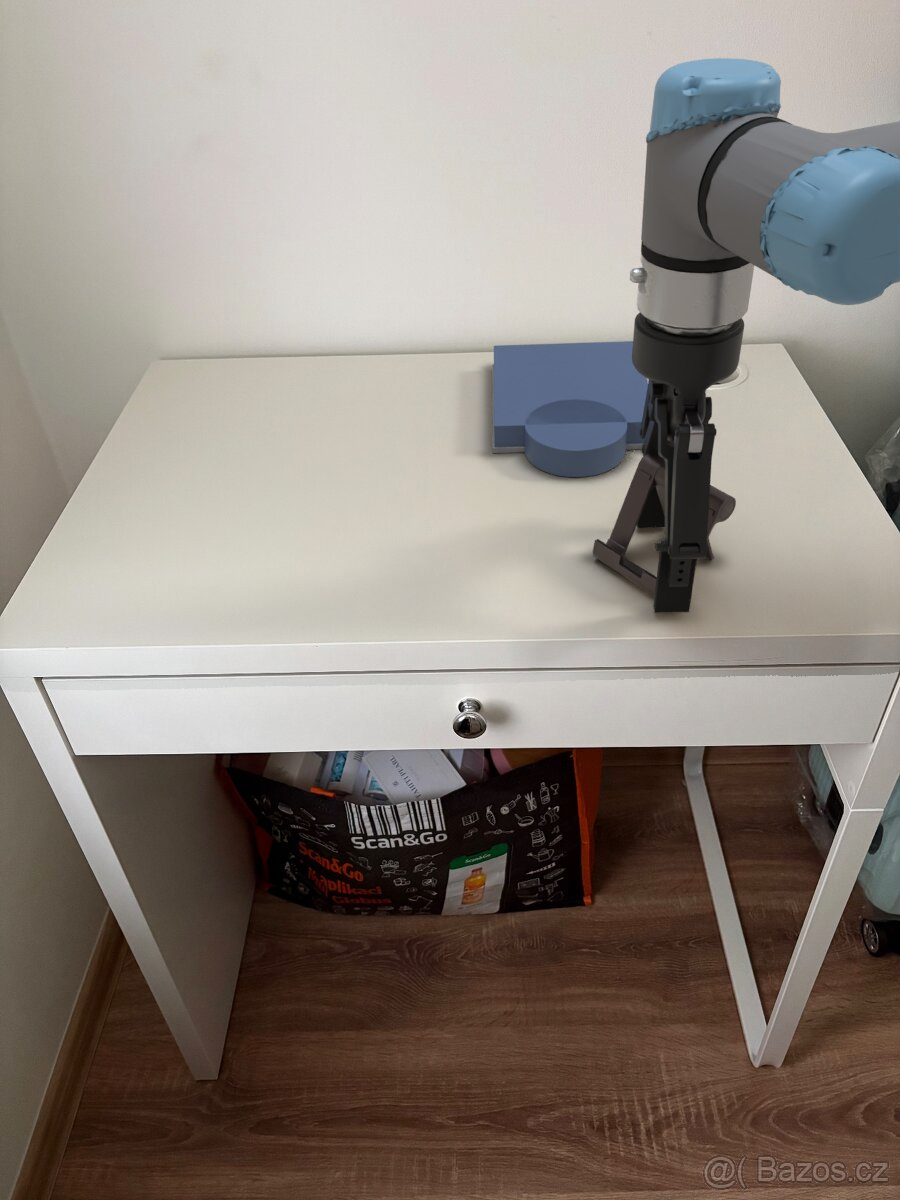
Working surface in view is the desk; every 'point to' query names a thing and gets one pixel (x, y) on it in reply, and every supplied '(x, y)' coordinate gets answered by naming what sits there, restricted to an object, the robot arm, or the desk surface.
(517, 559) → the desk surface
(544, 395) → the blue square with disc
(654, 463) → the tablet stand
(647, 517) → the robot arm
